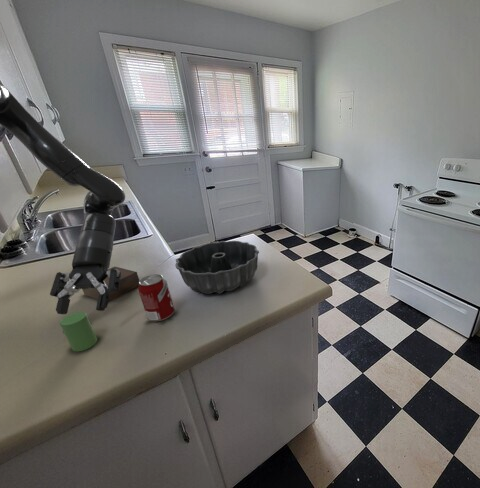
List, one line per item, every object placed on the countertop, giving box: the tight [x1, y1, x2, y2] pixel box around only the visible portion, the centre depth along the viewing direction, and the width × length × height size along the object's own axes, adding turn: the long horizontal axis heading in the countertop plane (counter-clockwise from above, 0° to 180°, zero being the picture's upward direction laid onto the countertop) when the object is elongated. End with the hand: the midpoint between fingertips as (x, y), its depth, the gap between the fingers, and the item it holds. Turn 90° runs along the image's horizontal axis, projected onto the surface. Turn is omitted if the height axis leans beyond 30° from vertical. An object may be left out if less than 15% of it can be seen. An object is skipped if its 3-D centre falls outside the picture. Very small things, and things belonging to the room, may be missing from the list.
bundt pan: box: [174, 240, 260, 295], centre depth 93 cm, size 26×26×10 cm
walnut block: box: [81, 266, 140, 302], centre depth 89 cm, size 11×11×5 cm
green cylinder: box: [59, 311, 98, 352], centre depth 65 cm, size 5×5×8 cm
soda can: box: [137, 273, 175, 322], centre depth 75 cm, size 7×7×12 cm
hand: (81, 312), depth 66 cm, fingers open, 8 cm apart
